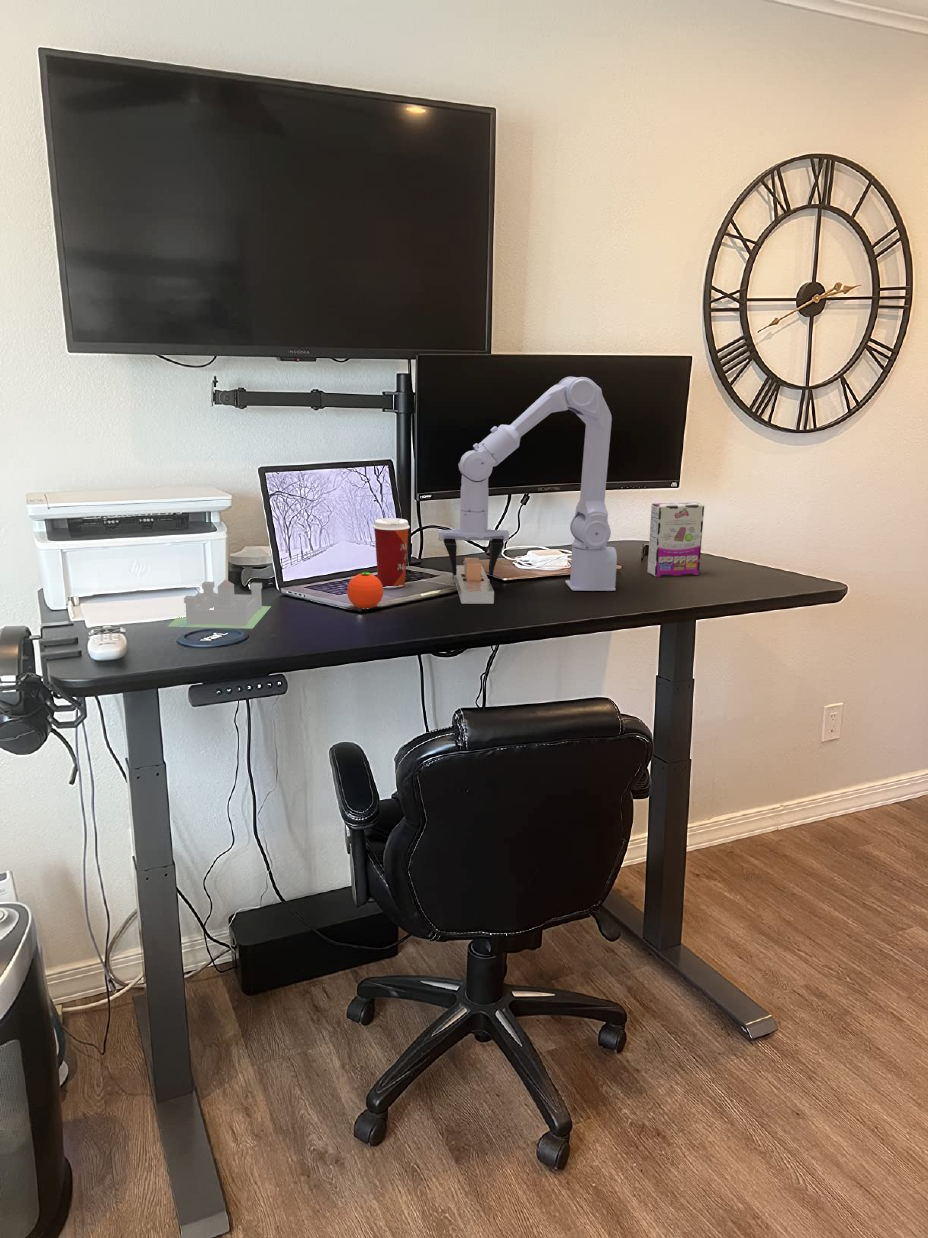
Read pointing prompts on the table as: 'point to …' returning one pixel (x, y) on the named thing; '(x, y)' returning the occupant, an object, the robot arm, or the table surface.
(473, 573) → the orange block
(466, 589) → the rail
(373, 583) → the clementine
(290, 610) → the table surface
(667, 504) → the candy bar box
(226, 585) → the castle model
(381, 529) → the paper cup
